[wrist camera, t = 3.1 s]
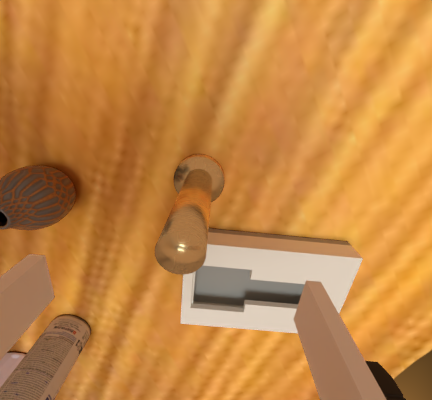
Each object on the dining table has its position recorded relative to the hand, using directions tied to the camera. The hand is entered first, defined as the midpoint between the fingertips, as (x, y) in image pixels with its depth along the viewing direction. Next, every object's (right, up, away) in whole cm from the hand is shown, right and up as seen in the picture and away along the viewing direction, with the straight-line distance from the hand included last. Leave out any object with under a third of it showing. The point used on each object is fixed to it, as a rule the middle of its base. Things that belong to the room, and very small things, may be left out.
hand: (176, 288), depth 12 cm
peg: (0, +7, +17) cm, 18 cm away
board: (+9, -6, +22) cm, 25 cm away
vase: (-18, +6, +18) cm, 26 cm away
